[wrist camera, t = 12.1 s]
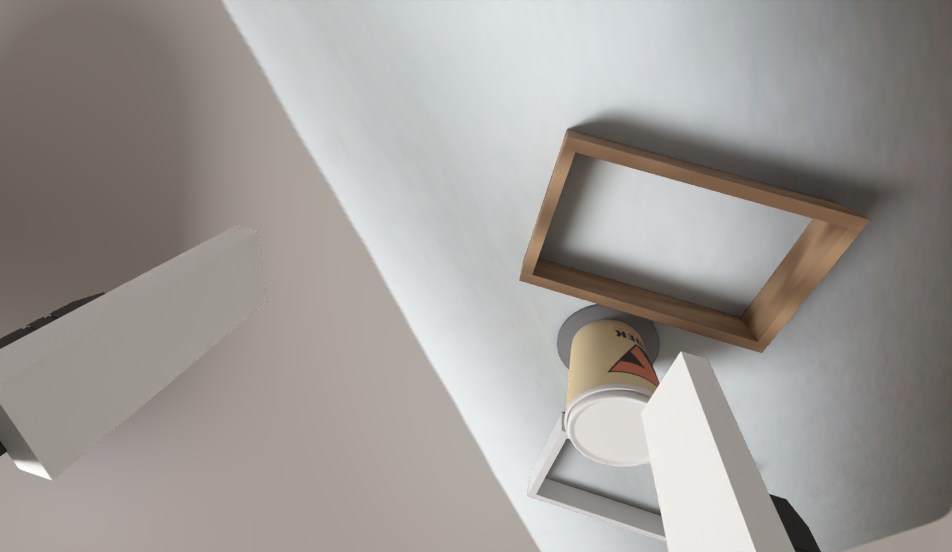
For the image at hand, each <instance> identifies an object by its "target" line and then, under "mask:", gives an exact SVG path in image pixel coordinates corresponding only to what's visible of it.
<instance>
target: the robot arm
mask: <svg viewBox="0 0 952 552" xmlns="http://www.w3.org/2000/svg"><path fill="white" fill-rule="evenodd" d="M266 302H267V299H266V290H265V281H264V273H263V263H262V255H261V245H260V236H259V231H255V230H252V229H248V228H245V227H241V226H238V225H236V226H234V227H232V228H230V229H228V230H226V231H224V232H223V233H221V234H219V235H217V236H215V237H213V238H211V239H209V240H207V241H205V242H203V243H201V244H199V245H198V246H196V247H194V248H192V249H190V250H188V251H186V252H184V253H182V254H181V255H179V256H177V257H175V258H173V259H171V260H169V261H167V262H165V263H163V264H161V265H159V266H158V267H156V268H154V269H152V270H150V271H148V272H146V273H144V274H142V275H140V276H139V277H137V278H135V279H133V280H131V281H129V282H127V283H125V284H123V285H121V286H119V287H118V288H116V289H114V290H112V291H110V292H108V293H104V292H103V293H100V294H96V295H93V296H90V297H87V298H83V299H80V300H77V301H74V302H72V303H70V304H68V305H66V306H64V307H62V308H60V309H58V310H56V311H54V312H52V313H50V314H48V317H46V318H44V317H42V318H40V319H38V320H36V321H34V322H32V323H30V324H28V325H27V327H26V328H25V329H21V328H20V329H18V330H16V331H14V332H13V333H10V334H8V335H7V336H5V337H3V338H1V339H0V456H1V455H3V454H4V453H6V452H7V453H8V454H9V456H10V457H11V458H12V460H13V461H14V462H15V464H16V465H17V466H18V468H19V469H21V470H24V471H27V472H29V473H32V474H35V475H38V476H41V477H44V478H47V479H50V480H54V479H55V478H56V477H57V476H59V475H60V474H61V473H62V472H63V471H65V470H66V469H67V468H68V467H69V466H71V465H72V464H73V463H74V462H75V461H77V460H78V459H79V458H80V457H81V456H82V455H84V454H85V453H86V452H87V451H89V450H90V449H91V448H92V447H93V446H95V445H96V444H97V443H98V442H99V441H100V440H102V439H103V438H104V437H105V436H107V435H108V434H109V433H110V432H111V431H113V430H114V429H115V428H116V427H117V426H119V425H120V424H121V423H122V422H123V421H124V420H126V419H127V418H128V417H129V416H131V415H132V414H133V413H134V412H135V411H137V410H138V409H139V408H140V407H141V406H143V405H144V404H145V403H146V402H147V401H149V400H150V399H151V398H152V397H153V396H155V395H156V394H157V393H158V392H159V391H160V390H162V389H163V388H164V387H165V386H167V385H168V384H169V383H170V382H171V381H173V380H174V379H175V378H176V377H177V376H178V375H180V374H181V373H182V372H183V371H184V370H186V369H187V368H188V367H189V366H191V365H192V364H193V363H194V362H195V361H197V360H198V359H199V358H200V357H201V356H202V355H204V354H205V353H206V352H207V351H209V350H210V349H211V348H212V347H213V346H215V345H216V344H217V343H218V342H219V341H221V340H222V339H223V338H224V337H225V336H227V335H228V334H229V333H230V332H231V331H233V330H234V329H235V328H236V327H237V326H239V325H240V324H241V323H242V322H243V321H245V320H246V319H247V318H248V317H249V316H251V315H252V314H253V313H254V312H255V311H257V310H258V309H259V308H260V307H261V306H263V305H264V304H265V303H266ZM641 416H642V421H643V426H644V431H645V436H646V441H647V446H648V451H649V456H650V461H651V466H652V471H653V476H654V481H655V486H656V491H657V496H658V501H659V506H660V511H661V516H662V521H663V526H664V531H665V536H666V541H667V546H668V551H669V552H821V551H820V549H819V547H818V545H817V543H816V541H815V539H814V537H813V535H812V533H811V531H810V529H809V527H808V526H807V525H806V523H805V522H804V521H803V520H802V518H801V517H800V516H799V515H798V513H797V512H796V511H795V510H794V508H793V507H792V506H791V505H790V503H789V502H788V501H787V500H786V499H784V498H780V497H777V496H774V495H770V494H769V493H768V491H767V488H766V486H765V484H764V482H763V480H762V477H761V475H760V473H759V471H758V469H757V466H756V464H755V462H754V460H753V458H752V455H751V453H750V451H749V449H748V446H747V444H746V442H745V440H744V438H743V435H742V433H741V431H740V429H739V427H738V424H737V422H736V420H735V418H734V416H733V413H732V411H731V409H730V407H729V405H728V402H727V400H726V398H725V396H724V394H723V391H722V389H721V387H720V385H719V382H718V380H717V378H716V376H715V374H714V371H713V369H712V367H711V365H710V363H709V360H708V359H707V358H703V357H700V356H696V355H693V354H689V353H686V352H682V351H681V352H680V353H679V355H678V356H677V358H676V359H675V361H674V363H673V364H672V366H671V367H670V369H669V370H668V372H667V373H666V375H665V377H664V378H663V380H662V381H661V383H660V384H659V386H658V387H657V389H656V391H655V392H654V394H653V395H652V397H651V398H650V400H649V401H648V403H647V405H646V406H645V408H644V409H643V411H642V412H641Z"/></svg>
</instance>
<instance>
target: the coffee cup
mask: <svg viewBox="0 0 952 552" xmlns="http://www.w3.org/2000/svg"><path fill="white" fill-rule="evenodd" d="M659 384H660V383H659V381H658V378H657V376H656V373H655V371H654V368H653V366H652V363H651V361H650V358H649V356H648V353H647V351H646V348H645V346H644V344H643V342H642V340H641V337H640V336H639V334H638V333H637V332H636V331H635V330H634V329H633V328H632V327H631V326H629V325H628V324H626V323H623V322H621V321H617V320H610V319H604V320H597V321H594V322H591V323H589V324H587V325H585V326H583V327H582V328H581V329H580V330H579V331H578V332H577V333H576V335H575V336H574V338H573V341H572V346H571V355H570V367H569V379H568V392H567V408H566V412H565V418H564V424H565V430H566V433H567V435H568V437H569V438H570V440H571V442H572V443H573V445H574V446H575V447H576V448H577V449H578V450H579V451H580V452H581V453H582V454H584V455H585V456H587V457H588V458H590V459H592V460H594V461H597V462H600V463H603V464H607V465H612V466H636V465H641V464H645V463H648V462H651V461H650V456H649V451H648V446H647V441H646V436H645V431H644V426H643V421H642V416H641V412H642V411H643V409H644V408H645V406H646V405H647V403H648V401H649V400H650V398H651V397H652V395H653V394H654V392H655V391H656V389H657V387H658V386H659Z"/></svg>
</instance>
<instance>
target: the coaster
mask: <svg viewBox="0 0 952 552" xmlns="http://www.w3.org/2000/svg"><path fill="white" fill-rule="evenodd" d="M604 319H610V320H617V321H621V322H623V323H626V324H628V325H629V326H631V327H632V328H633V329H634V330H635V331H636V332H637V333H638V334H639V336H640V337H641V340H642V342H643V344H644V346H645V348H646V351H647V353H648V356H649V358H650V361H651V363H652V364H653V363H654V361H655V360H656V358H657V355H658V352H659V338H658V335H657V332H656V329H655V327H654V326H653V324H652V323H651V321H650V320H649V319H647V318H643V317H640V316H637V315H633V314H630V313H627V312H623V311H620V310H617V309H613V308H610V307H607V306H603V305H600V304H596V305H591V306H588V307H585V308H583V309H581V310H579V311H577V312H575V313H574V314H573V315H571V316H570V317H569V318H568V319H567V320H566V321H565V322H564V324H563V325H562V327H561V329H560V331H559V334H558V342H557V348H558V353H559V356H560V358H561V360H562V362H563V363H564V365H565V366H566V367H567V368H568V369H569V367H570V355H571V346H572V341H573V338H574V336H575V335H576V333H577V332H578V331H579V330H580V329H581V328H582V327H583V326H585V325H587V324H589V323H591V322H594V321H597V320H604Z"/></svg>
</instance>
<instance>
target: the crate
mask: <svg viewBox="0 0 952 552" xmlns="http://www.w3.org/2000/svg"><path fill="white" fill-rule="evenodd" d="M575 152H576V153H580V154H584V155H587V156H591V157H594V158H598V159H602V160H605V161H609V162H612V163H616V164H619V165H623V166H627V167H630V168H634V169H637V170H641V171H645V172H648V173H652V174H655V175H659V176H663V177H666V178H670V179H673V180H677V181H681V182H684V183H688V184H691V185H695V186H699V187H702V188H706V189H709V190H713V191H716V192H720V193H724V194H727V195H731V196H734V197H738V198H742V199H745V200H749V201H752V202H756V203H760V204H763V205H767V206H770V207H774V208H778V209H781V210H785V211H788V212H792V213H796V214H799V215H803V216H806V217H810V218H814V219H813V220H812V221H811V223H810V224H809V226H808V227H807V228H806V230H805V231H804V232H803V234H802V235H801V237H800V238H799V239H798V241H797V242H796V243H795V245H794V246H793V247H792V249H791V250H790V252H789V253H788V254H787V256H786V257H785V258H784V260H783V261H782V262H781V264H780V265H779V267H778V268H777V269H776V271H775V272H774V273H773V275H772V276H771V278H770V279H769V280H768V282H767V283H766V284H765V286H764V287H763V288H762V290H761V291H760V293H759V294H758V295H757V297H756V298H755V299H754V301H753V302H752V304H751V305H750V306H749V308H748V309H747V310H746V312H745V313H744V314H743V316H742V317H741V318H740V317H736V316H733V315H729V314H726V313H723V312H719V311H716V310H713V309H709V308H706V307H702V306H699V305H696V304H692V303H689V302H685V301H682V300H679V299H675V298H672V297H668V296H665V295H662V294H658V293H655V292H652V291H648V290H645V289H641V288H638V287H635V286H631V285H628V284H624V283H621V282H618V281H614V280H611V279H608V278H604V277H601V276H597V275H594V274H591V273H587V272H584V271H580V270H577V269H574V268H570V267H567V266H564V265H560V264H557V263H553V262H550V261H547V260H543V259H540V258H538V257H539V254H540V251H541V248H542V245H543V243H544V240H545V237H546V234H547V231H548V228H549V226H550V223H551V220H552V217H553V214H554V212H555V209H556V206H557V203H558V200H559V197H560V195H561V192H562V189H563V186H564V183H565V180H566V178H567V175H568V172H569V169H570V166H571V163H572V161H573V158H574V155H575ZM869 221H870V220H869V219H867V218H865V217H863V216H861V215H859V214H858V213H856V212H854V211H852V210H850V209H848V208H846V207H844V206H842V205H840V204H838V203H835V202H831V201H827V200H824V199H820V198H816V197H813V196H809V195H806V194H802V193H798V192H795V191H791V190H787V189H784V188H780V187H777V186H773V185H769V184H766V183H762V182H758V181H755V180H751V179H747V178H744V177H740V176H737V175H733V174H729V173H726V172H722V171H718V170H715V169H711V168H708V167H704V166H700V165H697V164H693V163H689V162H686V161H682V160H678V159H675V158H671V157H668V156H664V155H660V154H657V153H653V152H649V151H646V150H642V149H638V148H635V147H631V146H628V145H624V144H620V143H617V142H613V141H609V140H606V139H602V138H599V137H595V136H591V135H588V134H584V133H580V132H577V131H573V130H569V129H567V131H566V134H565V137H564V140H563V143H562V146H561V149H560V152H559V155H558V158H557V161H556V164H555V167H554V170H553V173H552V176H551V179H550V182H549V185H548V188H547V191H546V194H545V198H544V201H543V204H542V207H541V210H540V213H539V216H538V219H537V222H536V225H535V228H534V231H533V234H532V237H531V240H530V243H529V246H528V249H527V252H526V255H525V258H524V261H523V265H522V270H521V275H520V281H523V282H526V283H530V284H533V285H536V286H540V287H543V288H546V289H550V290H553V291H556V292H560V293H563V294H566V295H570V296H573V297H576V298H580V299H583V300H586V301H590V302H593V303H596V304H600V305H603V306H607V307H610V308H613V309H617V310H620V311H623V312H627V313H630V314H633V315H637V316H640V317H643V318H647V319H650V320H653V321H657V322H660V323H663V324H667V325H670V326H673V327H677V328H680V329H683V330H687V331H690V332H693V333H697V334H700V335H703V336H707V337H710V338H713V339H717V340H720V341H723V342H727V343H730V344H733V345H737V346H740V347H743V348H747V349H750V350H753V351H757V352H760V353H762V352H763V351H764V350H765V349H766V347H767V346H768V345H769V344H770V342H771V341H772V340H773V339H774V337H775V336H776V335H777V334H778V333H779V331H780V330H781V329H782V328H783V326H784V325H785V324H786V323H787V322H788V320H789V319H790V318H791V317H792V315H793V314H794V313H795V312H796V310H797V309H798V308H799V307H800V306H801V304H802V303H803V302H804V301H805V299H806V298H807V297H808V296H809V295H810V293H811V292H812V291H813V290H814V288H815V287H816V286H817V285H818V283H819V282H820V281H821V280H822V279H823V277H824V276H825V275H826V274H827V272H828V271H829V270H830V269H831V268H832V266H833V265H834V264H835V263H836V261H837V260H838V259H839V258H840V256H841V255H842V254H843V253H844V252H845V250H846V249H847V248H848V247H849V245H850V244H851V243H852V242H853V241H854V239H855V238H856V237H857V236H858V234H859V233H860V232H861V231H862V229H863V228H864V227H865V226H866V225H867V223H868V222H869Z"/></svg>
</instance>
